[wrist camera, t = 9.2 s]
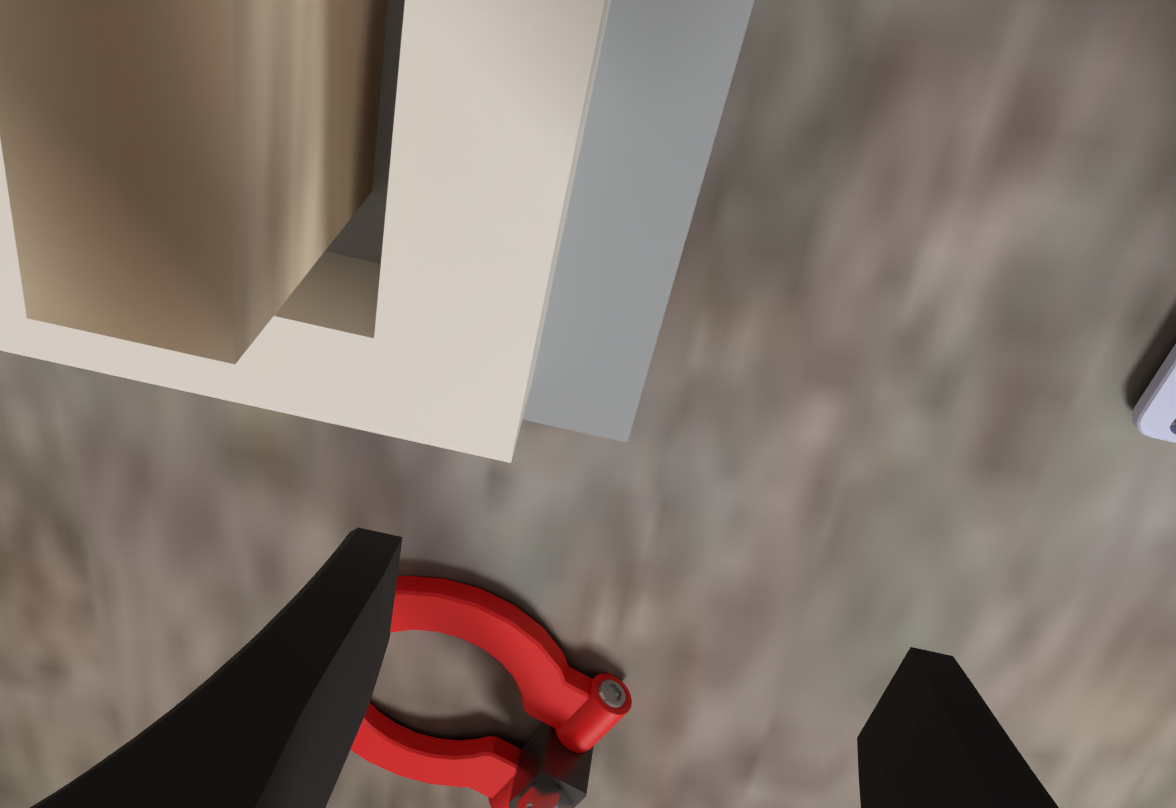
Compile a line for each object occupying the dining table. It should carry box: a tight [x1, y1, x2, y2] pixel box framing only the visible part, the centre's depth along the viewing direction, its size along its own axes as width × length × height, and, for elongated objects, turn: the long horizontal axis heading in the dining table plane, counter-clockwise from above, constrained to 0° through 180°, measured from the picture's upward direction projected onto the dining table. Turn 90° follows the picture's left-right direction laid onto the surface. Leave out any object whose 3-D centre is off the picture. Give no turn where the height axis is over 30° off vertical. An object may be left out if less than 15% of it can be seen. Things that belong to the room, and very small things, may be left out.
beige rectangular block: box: [0, 0, 388, 364], centre depth 15 cm, size 3×5×7 cm, turn 168°
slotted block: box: [0, 0, 754, 463], centre depth 17 cm, size 16×14×4 cm
